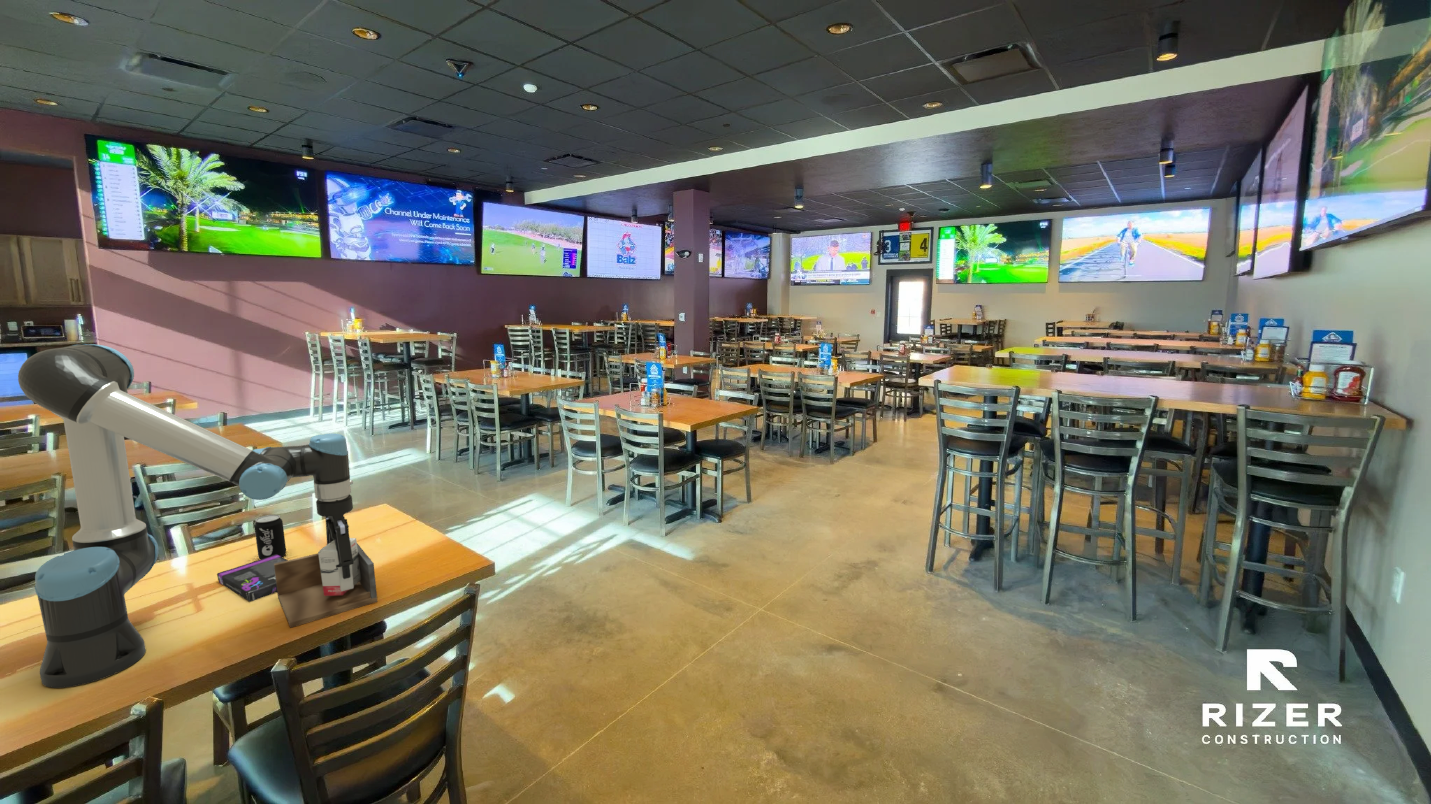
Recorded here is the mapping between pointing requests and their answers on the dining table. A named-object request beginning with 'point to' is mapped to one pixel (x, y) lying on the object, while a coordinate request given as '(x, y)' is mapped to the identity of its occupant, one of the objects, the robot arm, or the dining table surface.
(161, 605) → the dining table surface
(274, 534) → the beverage can
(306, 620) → the shelf
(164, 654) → the dining table surface
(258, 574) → the box
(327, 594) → the ink box
